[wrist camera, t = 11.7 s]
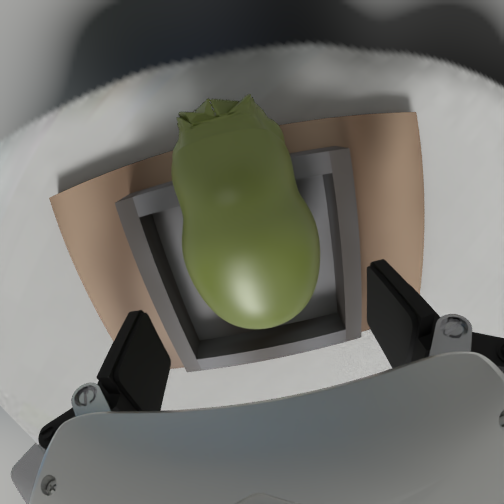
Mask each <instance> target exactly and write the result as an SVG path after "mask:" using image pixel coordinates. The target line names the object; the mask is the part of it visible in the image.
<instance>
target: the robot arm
mask: <svg viewBox="0 0 504 504" xmlns="http://www.w3.org/2000/svg"><path fill="white" fill-rule="evenodd" d="M367 323H368V326H369V327H370V329H371V331H372V333H373V334H374V336H375V338H376V339H377V341H378V343H379V345H380V346H381V348H382V350H383V352H384V354H385V355H386V357H387V359H388V361H389V363H390V364H391V366H392V369H389V370H386V371H383V372H380V373H377V374H374V375H370V376H367V377H364V378H360V379H357V380H353V381H350V382H346V383H343V384H339V385H335V386H331V387H327V388H323V389H319V390H315V391H311V392H306V393H301V394H297V395H292V396H287V397H282V398H276V399H271V400H265V401H258V402H252V403H245V404H238V405H230V406H221V407H211V408H200V409H187V410H168V411H160V410H161V405H162V401H163V396H164V392H165V387H166V383H167V379H168V375H169V371H170V366H171V359H170V356H169V355H168V353H167V351H166V349H165V347H164V345H163V343H162V341H161V339H160V337H159V335H158V333H157V331H156V329H155V327H154V325H153V323H152V321H151V319H150V317H149V315H148V314H147V313H144V312H143V311H142V310H138V311H131V312H129V313H128V315H127V317H126V319H125V321H124V323H123V324H122V326H121V328H120V330H119V332H118V334H117V336H116V338H115V340H114V342H113V344H112V346H111V348H110V350H109V352H108V354H107V356H106V358H105V360H104V363H103V365H102V367H101V369H100V371H99V373H98V375H97V379H98V380H99V382H98V384H96V383H86V384H84V385H82V386H80V387H79V388H78V389H77V390H76V391H75V392H74V394H73V396H72V399H71V402H72V406H73V408H71V409H70V410H68V411H67V412H65V413H64V414H62V415H61V416H59V417H57V418H56V419H54V420H53V421H51V422H50V423H48V424H47V425H45V426H44V427H43V428H42V429H41V431H40V434H39V438H38V439H39V445H38V444H37V443H35V444H34V445H33V446H32V447H31V448H30V449H29V450H28V451H27V452H26V453H25V454H24V456H23V457H22V458H21V459H20V460H19V461H18V462H17V463H16V464H15V465H14V467H13V468H12V471H11V478H12V481H13V482H14V484H15V486H16V488H17V489H18V491H19V492H20V494H21V495H22V497H23V499H24V500H25V502H26V504H504V338H500V337H495V336H490V335H485V334H480V333H475V332H472V325H471V323H470V322H469V321H468V320H467V319H466V318H465V317H463V316H461V315H457V314H448V315H444V316H442V317H440V316H439V315H438V314H437V313H436V312H435V311H434V310H433V309H432V308H431V306H430V305H429V304H428V303H427V302H426V301H425V300H424V299H423V298H422V297H421V296H420V294H419V293H418V292H417V291H416V290H415V289H414V288H413V287H412V286H411V285H410V284H408V283H407V282H406V281H405V280H404V279H403V278H402V277H401V275H400V274H399V273H398V272H397V271H396V270H395V269H394V268H393V267H392V266H391V265H390V264H389V263H388V262H387V261H386V260H384V259H381V260H377V261H373V262H371V263H370V266H368V267H367Z"/></svg>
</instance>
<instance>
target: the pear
mask: <svg viewBox="0 0 504 504" xmlns="http://www.w3.org/2000/svg"><path fill="white" fill-rule="evenodd" d="M209 101H211V103H212V104H210V102H209ZM211 106H212V107H213V108H214V111H213V109H212V108H211ZM196 109H197V108H196ZM196 109H195V110H194V111H195V112H194V111H193V112H179V113H178V114H179V115H180V117H179V118H177V121H178V123H177V125H178V128H179V139H178V142H177V143H176V145H175V147H174V149H173V154H172V160H173V161H172V167H171V175H172V182H173V186H174V190H175V193H176V195H177V198H178V201H179V204H180V207H181V211H182V215H183V229H182V252H183V258H184V262H185V265H186V268H187V271H188V273H189V276H190V278H191V280H192V282H193V284H194V286H195V288H196V289H197V291H198V293H199V294H200V296H201V297H202V298H203V300H204V301H205V302H206V304H207V305H208V306H209V307H210V308H211V309H212V310H213V311H214V312H215V313H216V314H217V315H218V316H219V317H221V318H222V319H223V320H225V321H227V322H228V323H230V324H233V325H235V326H238V327H242V328H247V329H266V328H272V327H275V326H278V325H281V324H283V323H285V322H287V321H289V320H291V319H292V318H294V317H295V316H296V315H298V314H299V313H300V312H301V311H302V310H303V309H304V308H305V306H306V305H307V304H308V302H309V301H310V299H311V297H312V295H313V293H314V290H315V288H316V284H317V281H318V276H319V269H320V241H319V234H318V229H317V226H316V222H315V220H314V217H313V215H312V213H311V211H310V209H309V207H308V206H307V204H306V202H305V201H304V199H303V198H302V196H301V195H300V193H299V191H298V188H297V185H296V181H295V176H294V170H293V165H292V161H291V157H290V154H289V151H288V149H287V147H286V145H285V140H284V135H283V132H282V130H281V128H280V127H279V126H278V124H277V123H276V122H275V121H273V120H272V119H269V118H268V117H267V116H266V114H265V113H264V111H263V110H262V109H261V108H260V107H259V106H258V105H257V104H255V102H254V100H253V97H252V98H251V94H248V95H247V96H245V97H244V98H243V99H242V100H241V101H240V102H239V103H238V102H237V101H231V100H225V101H223V100H220V99H219V100H218V99H217V101H216V99H215V100H213V99H212V100H210V99H207V100H206V101H205V102H204V103H203V104H202V105H200V107H199V108H198V109H197V110H196Z"/></svg>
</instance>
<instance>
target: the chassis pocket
mask: <svg viewBox="0 0 504 504" xmlns="http://www.w3.org/2000/svg"><path fill="white" fill-rule="evenodd" d="M278 126H279V127H280V128H281V130H282V132H283V135H284V140H285V145H286V147H287V149H288V151H289V154H290V157H291V161H292V165H293V170H294V176H295V181H296V185H297V188H298V191H299V193H300V195H301V196H302V198H303V199H304V201H305V202H306V204H307V206H308V207H309V209H310V211H311V213H312V215H313V217H314V220H315V222H316V226H317V229H318V234H319V241H320V269H319V276H318V281H317V284H316V288H315V290H314V293H313V295H312V297H311V299H310V301H309V302H308V304H307V305H306V306H305V308H304V309H303V310H302V311H301V312H300V313H299V314H298V315H296V316H295V317H294V318H292V319H291V320H289V321H287V322H285V323H283V324H281V325H278V326H275V327H272V328H266V329H247V328H242V327H238V326H235V325H233V324H230V323H228V322H227V321H225V320H223V319H222V318H221V317H219V316H218V315H217V314H216V313H215V312H214V311H213V310H212V309H211V308H210V307H209V306H208V305H207V304H206V302H205V301H204V300H203V298H202V297H201V296H200V294H199V293H198V291H197V289H196V288H195V286H194V284H193V282H192V280H191V278H190V276H189V273H188V271H187V268H186V265H185V262H184V258H183V252H182V229H183V215H182V211H181V207H180V204H179V201H178V198H177V195H176V193H175V190H174V186H173V182H172V175H171V167H172V161H173V160H172V154H173V151H170V152H166V153H163V154H160V155H157V156H154V157H151V158H148V159H145V160H142V161H139V162H136V163H133V164H130V165H127V166H124V167H122V168H119V169H116V170H114V171H111V172H108V173H106V174H103V175H101V176H98V177H96V178H93V179H91V180H88V181H86V182H84V183H81V184H79V185H77V186H74V187H72V188H70V189H68V190H65V191H63V192H61V193H59V194H57V195H54V196H52V197H50V198H49V199H50V202H51V205H52V208H53V211H54V214H55V217H56V220H57V223H58V225H59V228H60V231H61V233H62V236H63V239H64V241H65V244H66V246H67V249H68V251H69V254H70V256H71V258H72V261H73V263H74V265H75V268H76V270H77V272H78V274H79V277H80V279H81V281H82V283H83V285H84V287H85V289H86V291H87V293H88V295H89V297H90V299H91V301H92V303H93V305H94V307H95V309H96V311H97V313H98V315H99V317H100V318H101V320H102V322H103V324H104V326H105V327H106V329H107V331H108V333H109V334H110V336H111V338H112V340H113V341H114V340H115V338H116V336H117V334H118V332H119V330H120V328H121V326H122V324H123V323H124V321H125V319H126V317H127V315H128V313H129V312H131V311H138V310H142V311H143V312H144V313H147V314H148V315H149V317H150V319H151V321H152V323H153V325H154V327H155V329H156V331H157V333H158V335H159V337H160V339H161V341H162V343H163V345H164V347H165V349H166V351H167V353H168V355H169V356H170V359H171V366H170V369H174V368H183V367H185V369H186V371H187V372H192V371H201V370H209V369H216V368H223V367H230V366H236V365H242V364H248V363H254V362H259V361H265V360H270V359H275V358H280V357H285V356H289V355H294V354H298V353H303V352H307V351H311V350H315V349H320V348H324V347H328V346H331V345H335V344H339V343H343V342H346V341H350V340H353V339H357V338H360V337H361V332H362V331H366V330H369V329H370V327H369V326H368V323H367V267H368V266H370V263H371V262H373V261H377V260H381V259H384V260H386V261H387V262H388V263H389V264H390V265H391V266H392V267H393V268H394V269H395V270H396V271H397V272H398V273H399V274H400V275H401V277H402V278H403V279H404V280H405V281H406V282H407V283H408V284H410V285H411V286H412V287H413V288H414V289H415V290H416V291H417V292H418V293H419V294H420V287H421V277H422V265H423V249H424V182H423V166H422V154H421V144H420V136H419V128H418V121H417V115H416V112H401V113H379V114H364V115H352V116H342V117H333V118H324V119H317V120H309V121H303V122H296V123H290V124H284V125H278Z"/></svg>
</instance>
